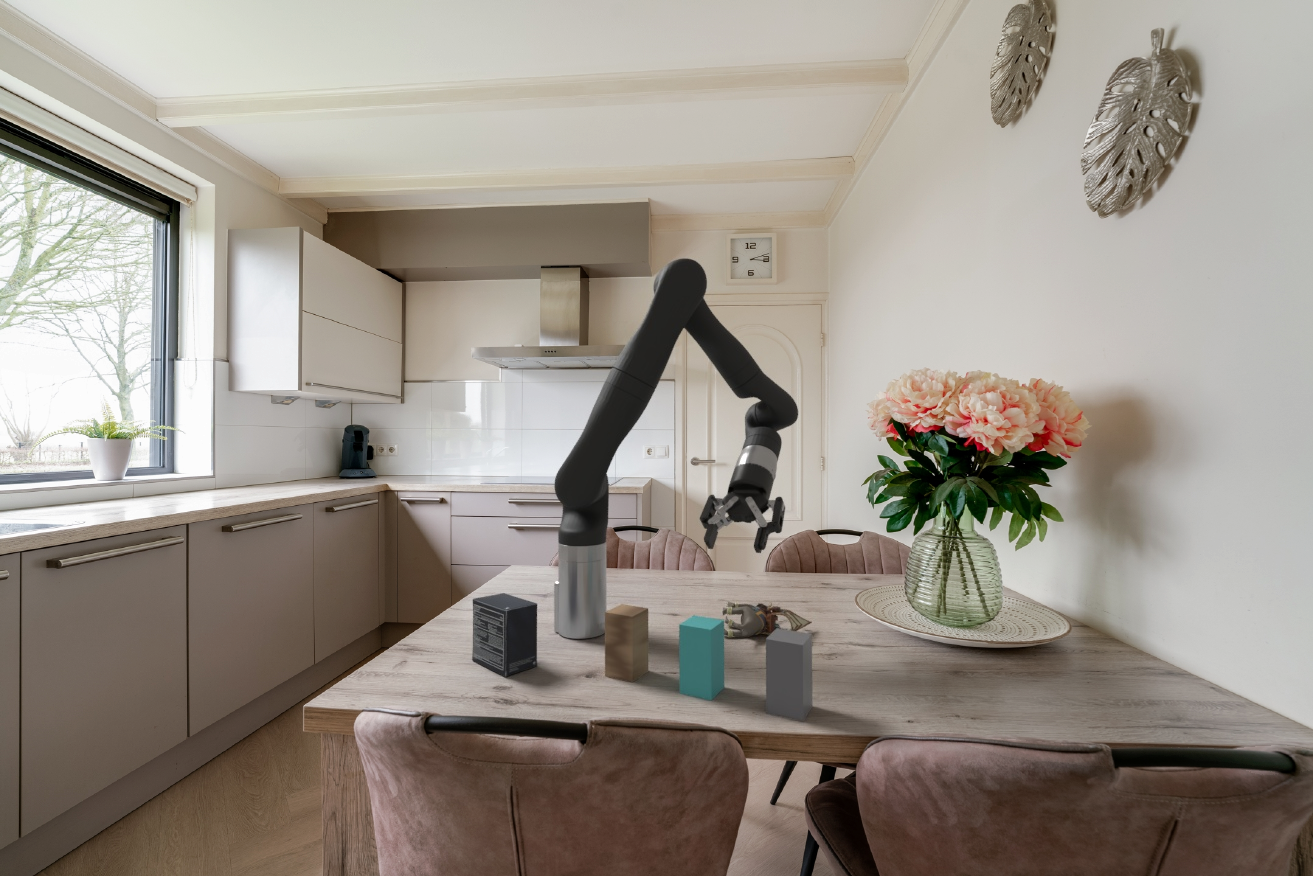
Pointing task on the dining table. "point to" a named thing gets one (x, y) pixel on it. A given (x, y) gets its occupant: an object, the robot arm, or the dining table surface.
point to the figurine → (759, 619)
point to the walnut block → (626, 642)
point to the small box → (504, 633)
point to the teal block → (701, 657)
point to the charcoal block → (789, 674)
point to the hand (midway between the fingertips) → (732, 548)
